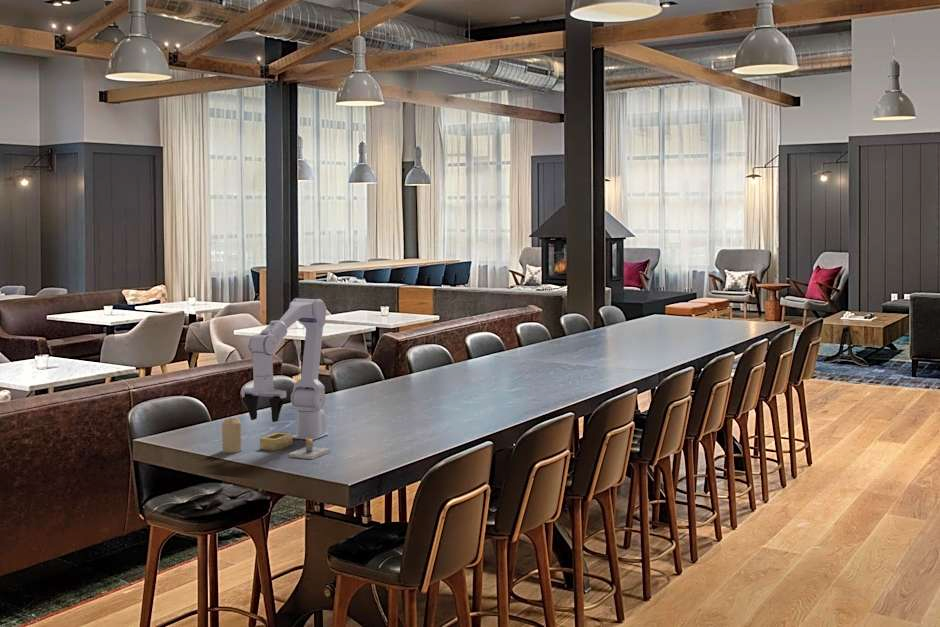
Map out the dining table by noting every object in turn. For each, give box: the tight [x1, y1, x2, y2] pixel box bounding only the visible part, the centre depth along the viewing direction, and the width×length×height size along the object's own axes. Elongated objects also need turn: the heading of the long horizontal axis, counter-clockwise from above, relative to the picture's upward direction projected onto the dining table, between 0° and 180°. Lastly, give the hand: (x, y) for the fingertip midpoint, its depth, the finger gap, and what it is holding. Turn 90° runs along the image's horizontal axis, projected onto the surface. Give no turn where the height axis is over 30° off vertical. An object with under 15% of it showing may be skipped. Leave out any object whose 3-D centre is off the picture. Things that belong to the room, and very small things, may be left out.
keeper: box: [288, 439, 331, 460], centre depth 298 cm, size 10×8×4 cm
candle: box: [221, 417, 242, 454], centre depth 303 cm, size 6×6×10 cm
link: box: [259, 432, 293, 451], centre depth 309 cm, size 9×6×3 cm, turn 157°
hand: (264, 420), depth 301 cm, fingers open, 7 cm apart
